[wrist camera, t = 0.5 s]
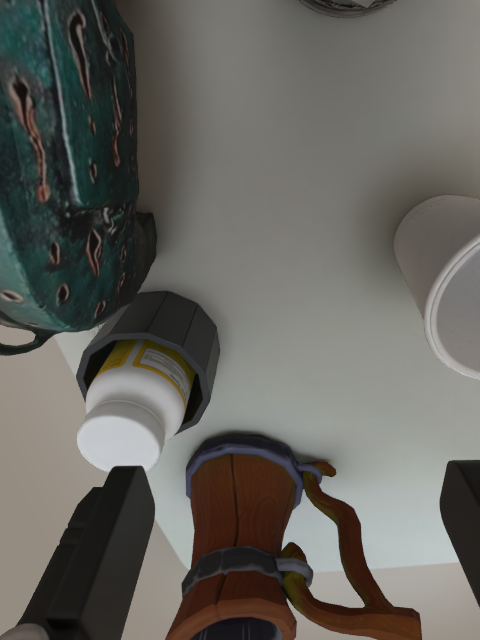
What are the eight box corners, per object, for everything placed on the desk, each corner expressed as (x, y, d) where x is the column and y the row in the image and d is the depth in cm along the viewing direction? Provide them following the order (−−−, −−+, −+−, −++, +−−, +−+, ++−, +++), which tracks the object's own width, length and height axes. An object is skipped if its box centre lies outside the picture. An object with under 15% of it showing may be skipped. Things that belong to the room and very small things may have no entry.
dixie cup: (526, 248, 25) (664, 323, 16) (409, 316, 28) (473, 409, 19) (473, 140, 22) (605, 161, 13) (349, 228, 25) (391, 291, 16)
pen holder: (97, 295, 29) (59, 336, 24) (211, 288, 28) (198, 329, 23) (125, 386, 33) (98, 438, 28) (224, 382, 32) (216, 435, 27)
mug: (367, 411, 33) (433, 613, 20) (375, 497, 38) (432, 700, 25) (171, 436, 36) (115, 625, 23) (204, 512, 41) (175, 701, 28)
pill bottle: (133, 372, 32) (76, 484, 23) (119, 307, 29) (46, 404, 20) (205, 372, 32) (179, 487, 22) (199, 306, 29) (164, 406, 19)
